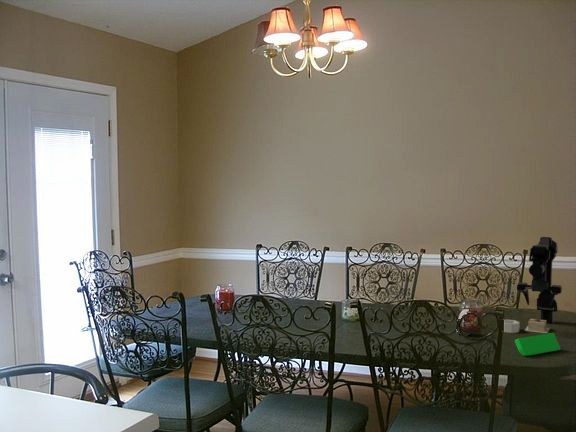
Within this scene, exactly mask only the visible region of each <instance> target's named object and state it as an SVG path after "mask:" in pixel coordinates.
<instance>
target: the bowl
mask: <svg viewBox="0 0 576 432" xmlns="http://www.w3.org/2000/svg"><path fill="white" fill-rule="evenodd" d="M503 320H504V333H508V334H509V333H511V334H514V333H515V334H516V333H519V332H520V321H518V320H514V319H503Z"/></svg>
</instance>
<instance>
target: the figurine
mask: <svg viewBox="0 0 576 432" xmlns="http://www.w3.org/2000/svg"><path fill="white" fill-rule="evenodd" d="M468 311H469V308H465V309H463V310H462V311H461V312H460V313H459V315H458V318H457V320H458V319H461V318H462V316H463V315H464V314H465V313H467V312H468ZM457 332H458V331H457V330H456V333H457Z"/></svg>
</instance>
